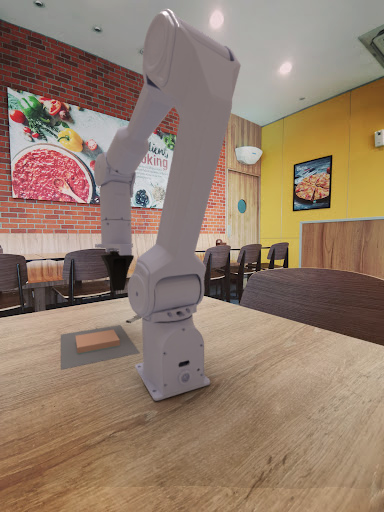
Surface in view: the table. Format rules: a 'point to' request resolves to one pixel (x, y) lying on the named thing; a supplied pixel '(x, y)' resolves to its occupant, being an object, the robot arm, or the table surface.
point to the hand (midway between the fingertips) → (118, 290)
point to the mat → (73, 359)
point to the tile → (96, 341)
